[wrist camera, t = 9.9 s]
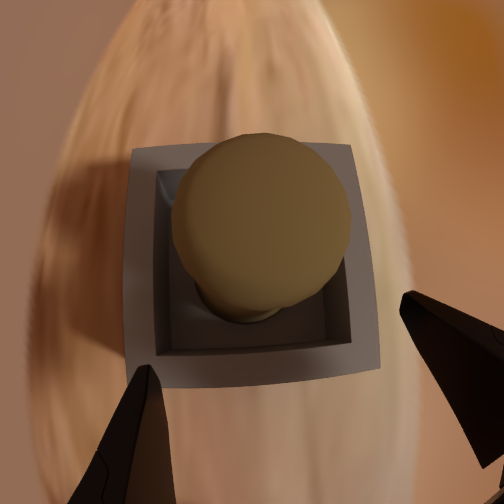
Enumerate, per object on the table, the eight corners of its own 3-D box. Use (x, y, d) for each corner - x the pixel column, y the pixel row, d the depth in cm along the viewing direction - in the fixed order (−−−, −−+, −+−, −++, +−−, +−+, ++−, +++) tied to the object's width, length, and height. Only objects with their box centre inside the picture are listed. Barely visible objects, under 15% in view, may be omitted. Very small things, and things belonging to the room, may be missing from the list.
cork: (191, 322, 17) (132, 320, 6) (196, 221, 18) (162, 99, 8) (296, 325, 17) (391, 323, 7) (295, 224, 19) (366, 114, 8)
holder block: (344, 358, 18) (380, 367, 13) (152, 371, 17) (127, 386, 12) (325, 182, 21) (350, 145, 16) (151, 187, 20) (132, 148, 15)
